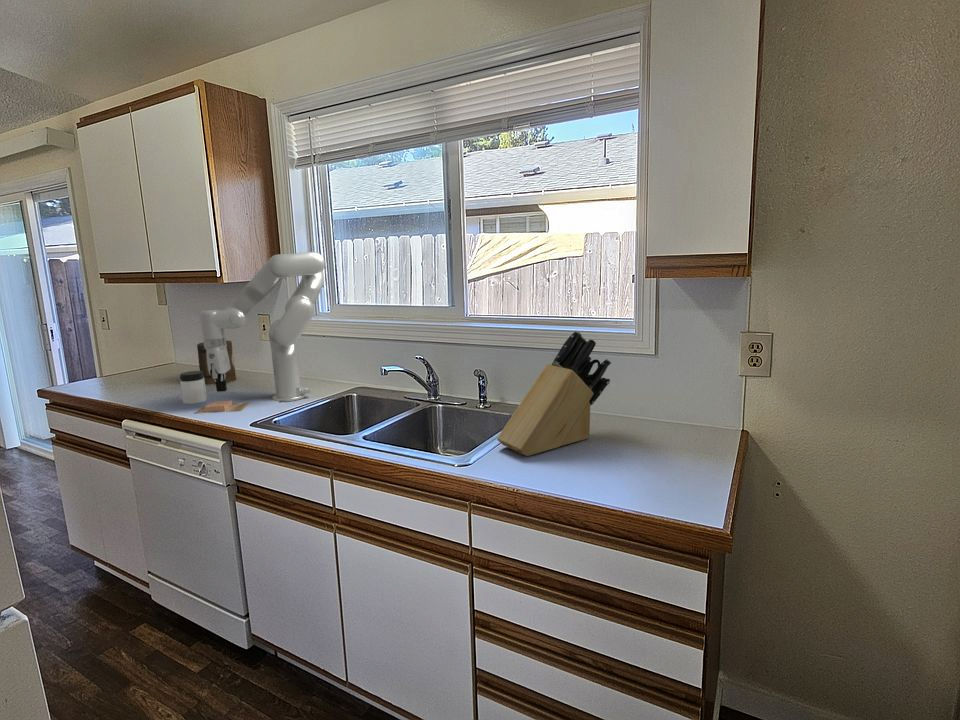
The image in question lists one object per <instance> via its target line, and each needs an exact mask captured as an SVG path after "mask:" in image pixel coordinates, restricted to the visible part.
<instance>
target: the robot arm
mask: <svg viewBox="0 0 960 720" xmlns="http://www.w3.org/2000/svg"><path fill="white" fill-rule="evenodd" d="M325 266H326V261H325V259H324V257H323V255H322V254H320V253H318V252H316V251H308V252H307V251H306V252H297V253H280V254H274V255H272V256H271V257H270V258H269V259H268V260H267V261H266V263H265V264H264V265H262V267H261V268H260V269H259V271H258V272H256V273H255V275H254V276H253V277H252V278H251V280H250V281H249V282H248V283H247V284H246V285H245V286H244V287H243V288H242V289H241V291H240V292H239V293H238V294H237V295H236V296H235V297H234V299H232V301H231V302H230V303H229V304H228V306H227V307H226V308H225V309H224V310H220V309H207V310H202V311H201V312H200V314H199V319H200V325H201V326H200V327H201V332H202V341H203V342H204V348H205V349H206V353H207V365H208V372H209V374H210V375H212V378H213V379H215V383H216V384H215V389H216V392H217V393H220V392H221V393H222V392H226V391H227V390H228V387H227V383H226V376H225V373H226V372H227V371H229V370H230V368H231V367H230V361H229V356H228V352H227V348H226V346H227V345H226V341H227V338H226V331H225V329H236V330H237V329H239V328H240V329H241V328H242V327H243V326H244V325H245V323H246V321H247V316H248V314H250V312H251V311H252V310H253V309H254V308H255V307H256V306H257V305H258V304H260V303H261V302H263V301H265V300H266V299H267V298H268V297H270V296H271V294H272V293H273V292H274V290H275V289H277V287H278V286H279V285H280V284H281V282H282V281H283V280H284V279H285V278H288V277H289V278H290V277H301V279H300V281H299V283H298V284H297V287H296V289H295V290H294V292H293V293H292V295H291V296H290V298H289V299H288V300H287V301H286V303H285V306H284V310H285V311H284V313H283V315H282V316H281V318H280V319H276V320H274V321H273V322H271V324H270V326H269V328H268V339H269V340H268V341H269V344H270V351H271V359H272V367H273V378H274V387H275V394H274V395H273V396H272V400H273V401H278V402H279V403H281V402H282V403H283V402H292V401H299V400H302V399H304V398H306V394H312V393H313V392H312V391H313V389H312V388H311V387H303V384H301V378H300V377H301V376H300V368H299V354H298V347H297V342H298V340H299V339H300V337H301V336H302V335H303V333H304V332H305V331H306V328H307V327H308V325H309V324H310V322H311V320H312V319H313V316H314V315H315V307H314V306H315V305H314V304H315V302H316V300H317V299H318V296H319V295H320V294H321V292H322V290H323V287H324V284H325V283H324V281H325V275H324V271H323V270H324V269H325Z"/></svg>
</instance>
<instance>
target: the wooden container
mask: <svg viewBox="0 0 960 720" xmlns="http://www.w3.org/2000/svg"><path fill="white" fill-rule="evenodd" d="M226 345H227V346H226V348H227V352H228V356H229V361H230V367H231V368H230V370H229V371H227V372H226V373H225V376H226V384H228V383H231V381H232V382H234V381H236V380H237V375H236V367H235V366H236V364H235V358H234V352H233V342H232V340H226ZM196 346H197V356H198V367H199V371H202V372H203V376H204V380H205V385H207V384H213V385H216V383H215V379H213V378H212V375H210V374H209V372H208V365H207V353H206V349H205V348H204V341H203V342H200V343H198V344H196ZM227 382H228V383H227Z"/></svg>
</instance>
